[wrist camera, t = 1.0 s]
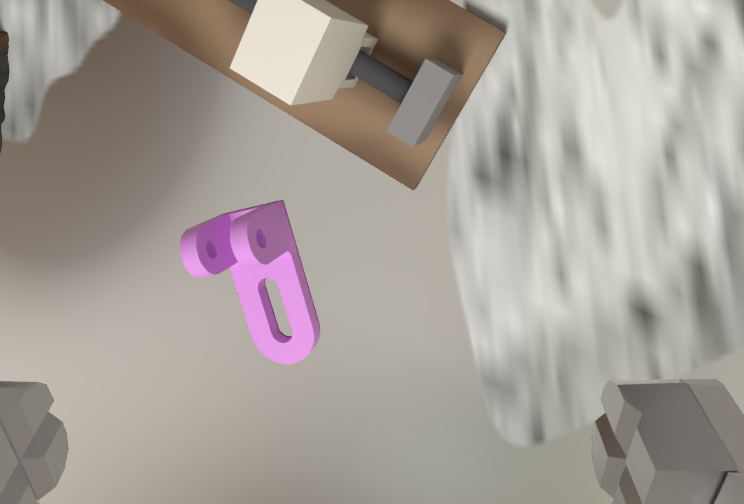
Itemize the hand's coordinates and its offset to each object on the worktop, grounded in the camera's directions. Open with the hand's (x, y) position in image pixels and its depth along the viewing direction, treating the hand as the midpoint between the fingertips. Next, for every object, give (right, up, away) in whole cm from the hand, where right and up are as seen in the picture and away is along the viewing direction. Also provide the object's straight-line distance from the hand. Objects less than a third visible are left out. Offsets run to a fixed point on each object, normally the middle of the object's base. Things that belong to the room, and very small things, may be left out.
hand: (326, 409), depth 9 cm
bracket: (-7, 0, +42) cm, 43 cm away
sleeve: (-1, +16, +33) cm, 37 cm away
